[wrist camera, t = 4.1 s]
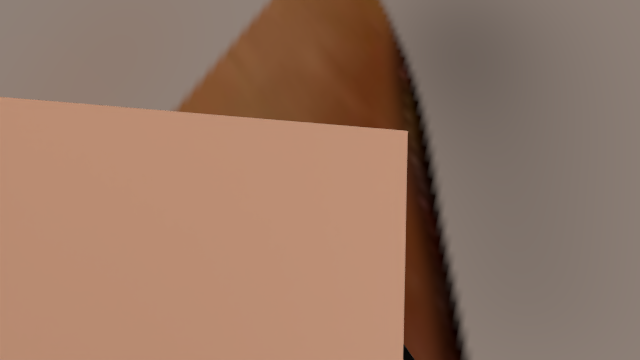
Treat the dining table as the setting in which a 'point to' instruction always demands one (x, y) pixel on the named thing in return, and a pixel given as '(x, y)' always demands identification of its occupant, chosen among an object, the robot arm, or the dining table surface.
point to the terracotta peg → (198, 236)
